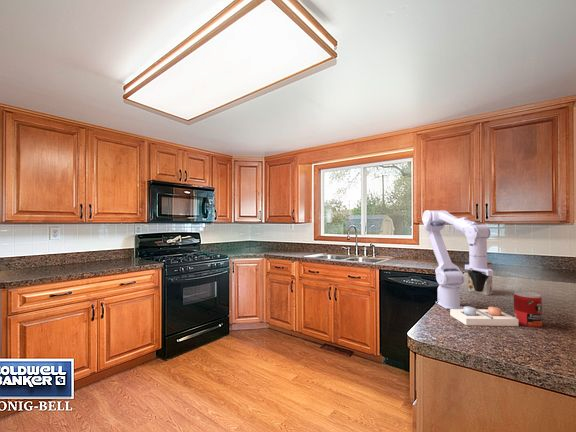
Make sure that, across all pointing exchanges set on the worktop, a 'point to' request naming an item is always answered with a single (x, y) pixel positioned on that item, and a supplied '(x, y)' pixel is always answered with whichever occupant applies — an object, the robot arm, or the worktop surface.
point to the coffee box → (487, 287)
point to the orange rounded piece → (494, 311)
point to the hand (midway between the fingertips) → (478, 291)
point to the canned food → (528, 308)
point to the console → (484, 318)
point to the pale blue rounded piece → (469, 311)
